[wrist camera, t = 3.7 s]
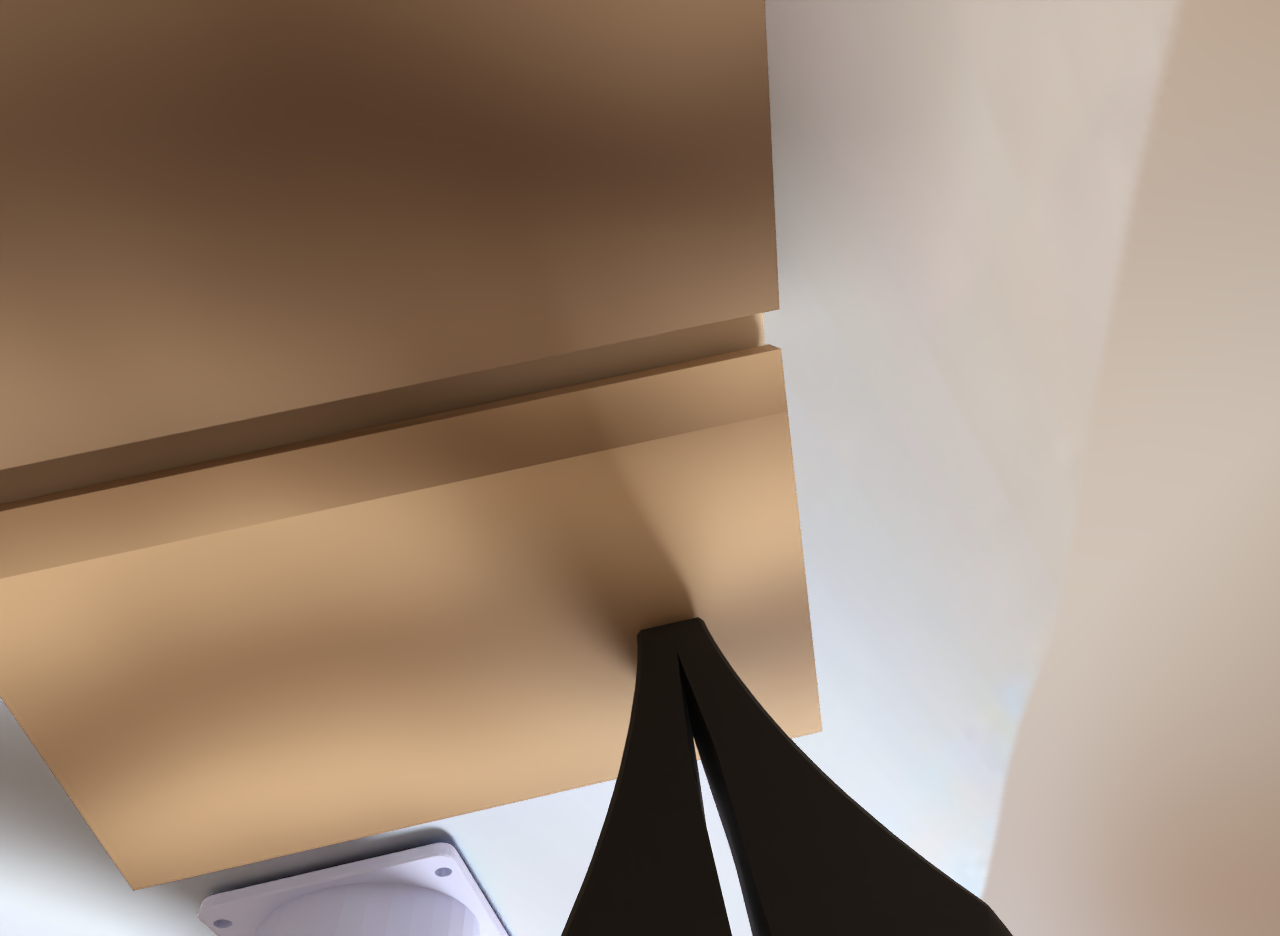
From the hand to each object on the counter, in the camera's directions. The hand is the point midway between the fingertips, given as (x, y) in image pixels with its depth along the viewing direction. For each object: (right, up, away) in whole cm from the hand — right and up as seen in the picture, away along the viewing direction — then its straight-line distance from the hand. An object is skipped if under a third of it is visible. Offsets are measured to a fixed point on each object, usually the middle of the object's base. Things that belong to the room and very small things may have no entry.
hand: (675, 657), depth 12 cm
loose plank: (-5, +1, +1) cm, 5 cm away
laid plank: (-7, +8, -3) cm, 11 cm away
